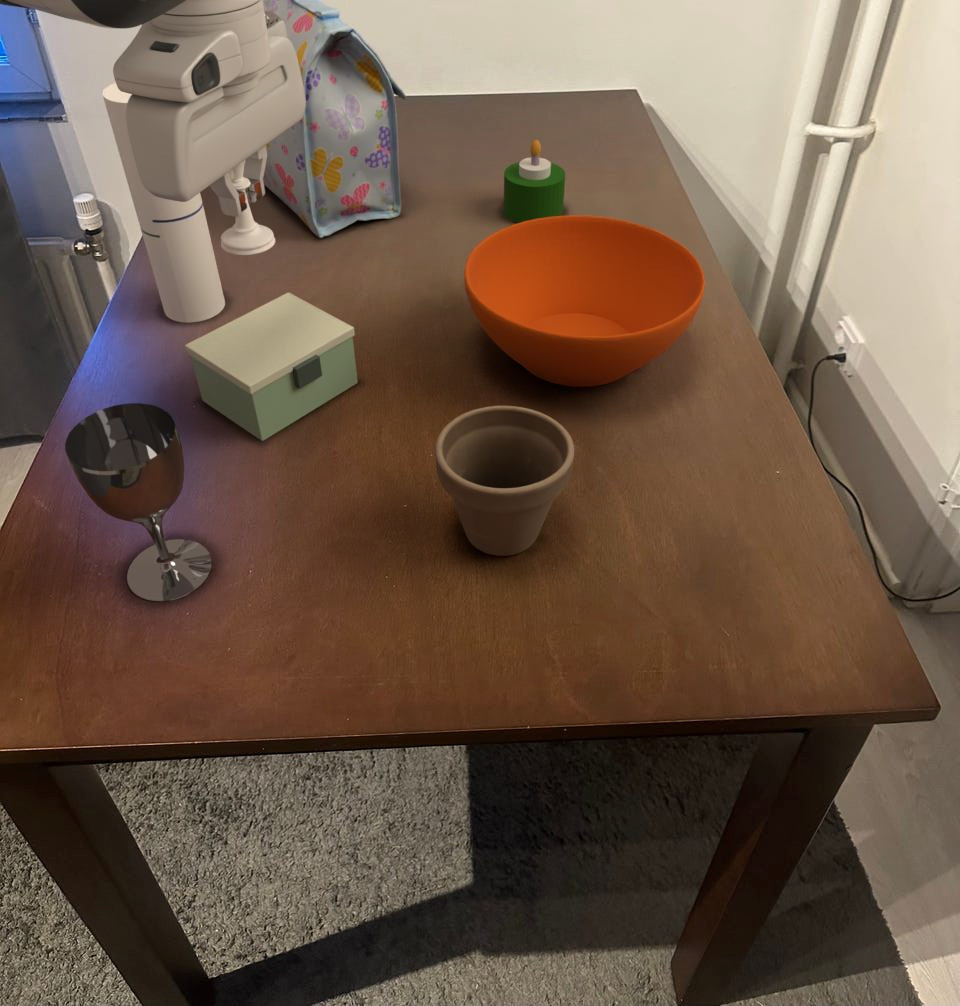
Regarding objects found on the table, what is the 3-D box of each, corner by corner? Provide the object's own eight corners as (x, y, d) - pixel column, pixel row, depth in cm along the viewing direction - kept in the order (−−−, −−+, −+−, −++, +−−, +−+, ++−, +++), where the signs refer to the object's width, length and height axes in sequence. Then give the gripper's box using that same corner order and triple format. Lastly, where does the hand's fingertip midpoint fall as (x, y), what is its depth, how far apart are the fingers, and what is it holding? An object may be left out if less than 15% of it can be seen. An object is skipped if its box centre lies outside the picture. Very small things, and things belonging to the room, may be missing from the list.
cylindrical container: (217, 322, 104) (165, 103, 87) (157, 322, 104) (92, 102, 87) (230, 290, 109) (183, 77, 92) (172, 290, 110) (115, 77, 92)
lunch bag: (423, 213, 124) (413, 3, 106) (314, 247, 117) (283, 28, 99) (347, 158, 137) (326, -38, 119) (245, 185, 131) (206, -18, 112)
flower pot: (511, 470, 86) (513, 385, 79) (592, 536, 79) (603, 451, 72) (413, 523, 81) (406, 438, 74) (492, 599, 74) (493, 513, 67)
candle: (496, 221, 122) (497, 148, 115) (512, 195, 128) (513, 124, 121) (555, 229, 121) (559, 156, 114) (568, 202, 126) (573, 131, 119)
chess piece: (227, 230, 84) (207, 122, 77) (279, 231, 84) (263, 123, 77) (215, 255, 81) (193, 143, 74) (270, 255, 81) (253, 144, 74)
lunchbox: (265, 445, 88) (252, 388, 84) (196, 398, 94) (181, 343, 89) (363, 384, 96) (357, 329, 91) (294, 344, 101) (285, 290, 96)
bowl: (472, 288, 110) (472, 212, 103) (677, 294, 109) (691, 217, 102) (457, 416, 92) (455, 333, 85) (703, 424, 91) (721, 341, 84)
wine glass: (185, 523, 81) (141, 389, 70) (234, 569, 77) (196, 436, 66) (104, 569, 77) (45, 435, 66) (152, 621, 73) (96, 487, 62)
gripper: (248, 0, 78) (273, 155, 88) (96, 76, 65) (146, 250, 74) (311, 7, 77) (330, 165, 86) (169, 87, 63) (210, 264, 73)
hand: (244, 205), depth 80 cm, fingers closed on chess piece
